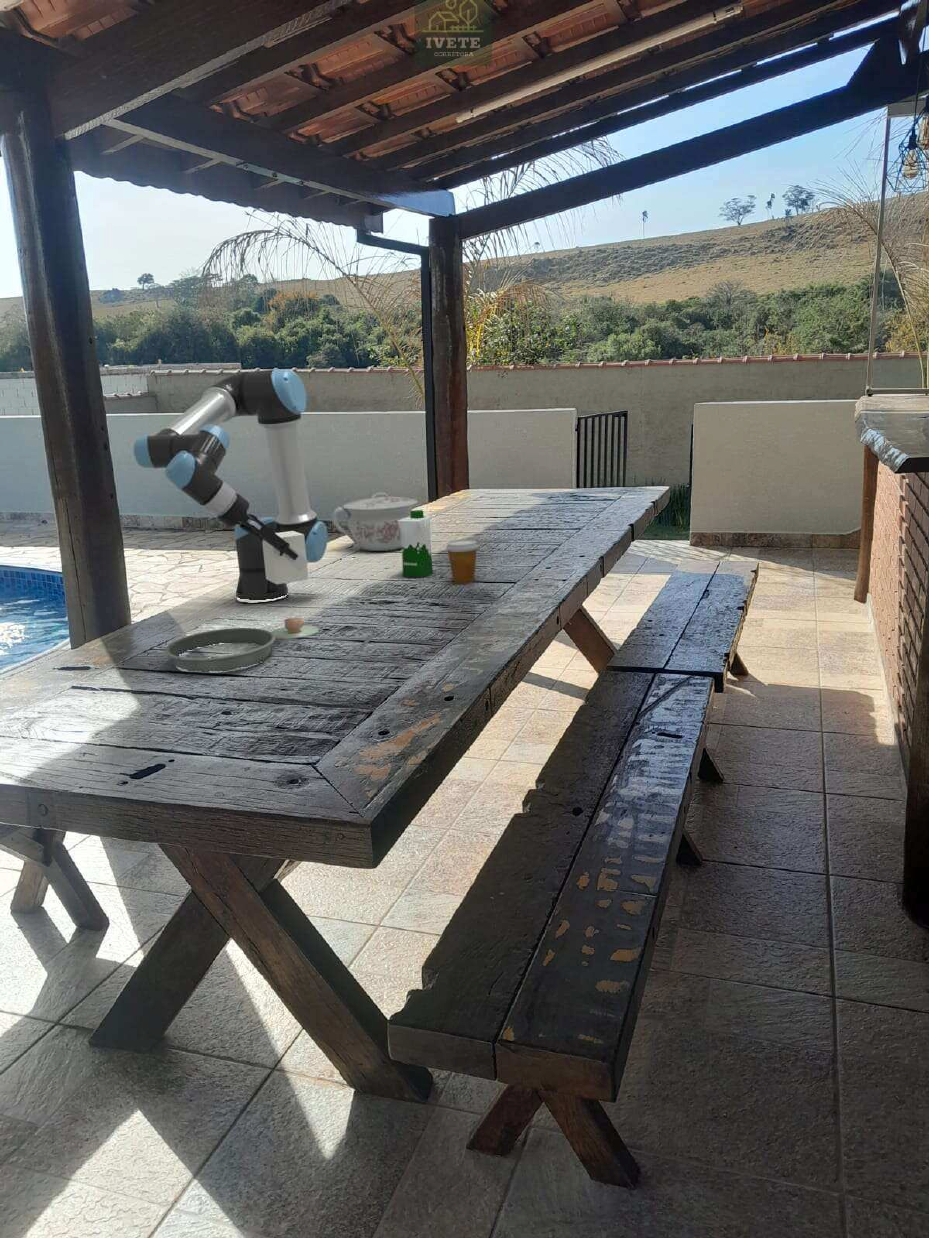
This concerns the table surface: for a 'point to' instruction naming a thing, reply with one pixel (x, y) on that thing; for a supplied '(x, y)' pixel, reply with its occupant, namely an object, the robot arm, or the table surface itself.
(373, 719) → the table surface
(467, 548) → the disposable coffee cup
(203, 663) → the hoop
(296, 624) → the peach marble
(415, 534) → the milk carton
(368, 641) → the mat
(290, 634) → the plate
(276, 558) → the white upright block
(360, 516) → the chamber pot
